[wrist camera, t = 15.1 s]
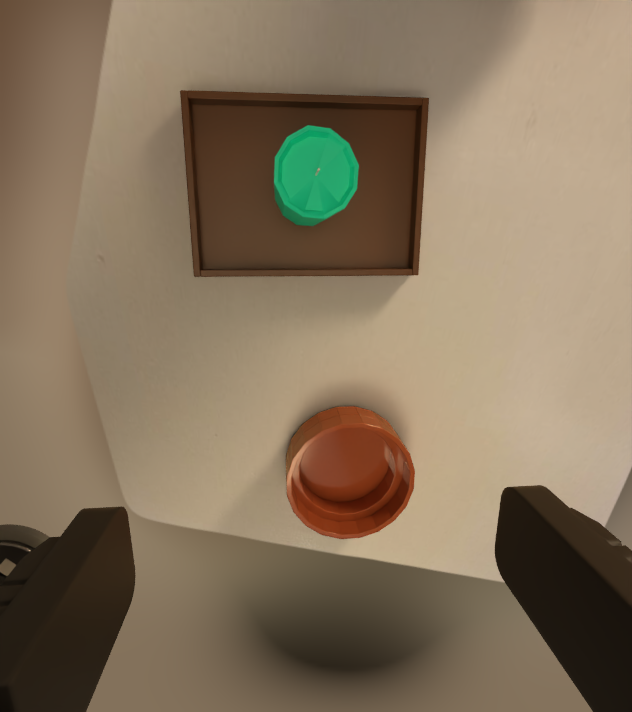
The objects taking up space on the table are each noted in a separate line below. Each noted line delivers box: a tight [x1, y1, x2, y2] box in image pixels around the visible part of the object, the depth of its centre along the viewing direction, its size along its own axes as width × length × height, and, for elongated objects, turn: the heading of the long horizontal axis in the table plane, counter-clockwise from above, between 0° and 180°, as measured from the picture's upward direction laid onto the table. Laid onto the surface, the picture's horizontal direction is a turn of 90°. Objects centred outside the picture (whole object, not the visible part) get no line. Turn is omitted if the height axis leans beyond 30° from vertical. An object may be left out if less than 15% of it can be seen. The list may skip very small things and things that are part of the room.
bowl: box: [286, 406, 415, 539], centre depth 44 cm, size 13×13×5 cm
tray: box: [180, 90, 429, 277], centre depth 38 cm, size 21×15×2 cm
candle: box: [274, 125, 359, 226], centre depth 33 cm, size 6×6×12 cm
